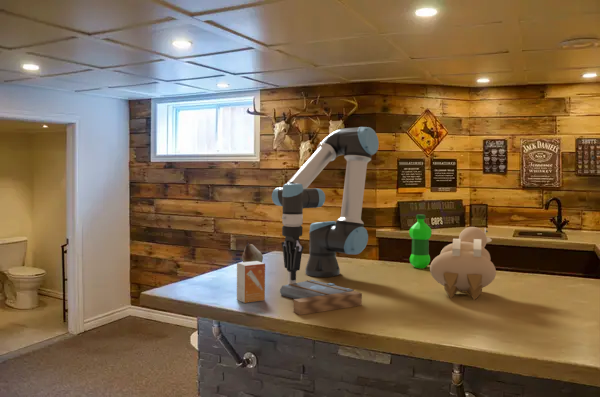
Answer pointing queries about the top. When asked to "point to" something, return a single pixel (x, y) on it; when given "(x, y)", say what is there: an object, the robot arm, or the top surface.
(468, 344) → the top surface
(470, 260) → the walrus toy
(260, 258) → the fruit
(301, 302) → the rail
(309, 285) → the book
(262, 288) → the small box
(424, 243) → the plastic bottle
